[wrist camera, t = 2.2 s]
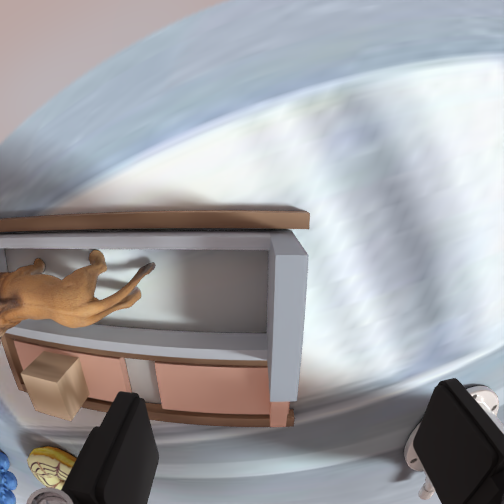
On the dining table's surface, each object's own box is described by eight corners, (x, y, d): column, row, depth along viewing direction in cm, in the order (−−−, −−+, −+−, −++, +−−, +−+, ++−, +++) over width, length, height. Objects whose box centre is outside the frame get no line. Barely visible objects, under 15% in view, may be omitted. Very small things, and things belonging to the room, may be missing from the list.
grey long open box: (286, 342, 23) (296, 401, 16) (11, 320, 23) (-33, 352, 16) (291, 230, 21) (308, 255, 14) (-4, 233, 21) (-58, 251, 15)
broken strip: (287, 406, 25) (290, 430, 22) (32, 377, 25) (17, 392, 22) (291, 360, 24) (295, 383, 21) (19, 336, 24) (1, 349, 21)
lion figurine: (28, 320, 23) (-32, 366, 15) (9, 265, 22) (-60, 298, 13) (167, 294, 22) (122, 359, 14) (146, 223, 21) (83, 253, 13)
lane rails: (292, 417, 25) (293, 426, 24) (24, 384, 25) (18, 389, 24) (306, 211, 21) (309, 213, 20) (-14, 219, 21) (-22, 221, 20)
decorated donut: (73, 491, 30) (65, 508, 27) (24, 442, 28) (12, 459, 24) (122, 492, 29) (114, 512, 25) (66, 438, 27) (53, 458, 23)
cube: (89, 394, 24) (71, 421, 20) (55, 386, 24) (35, 410, 20) (79, 357, 23) (56, 382, 19) (44, 350, 23) (20, 373, 19)
